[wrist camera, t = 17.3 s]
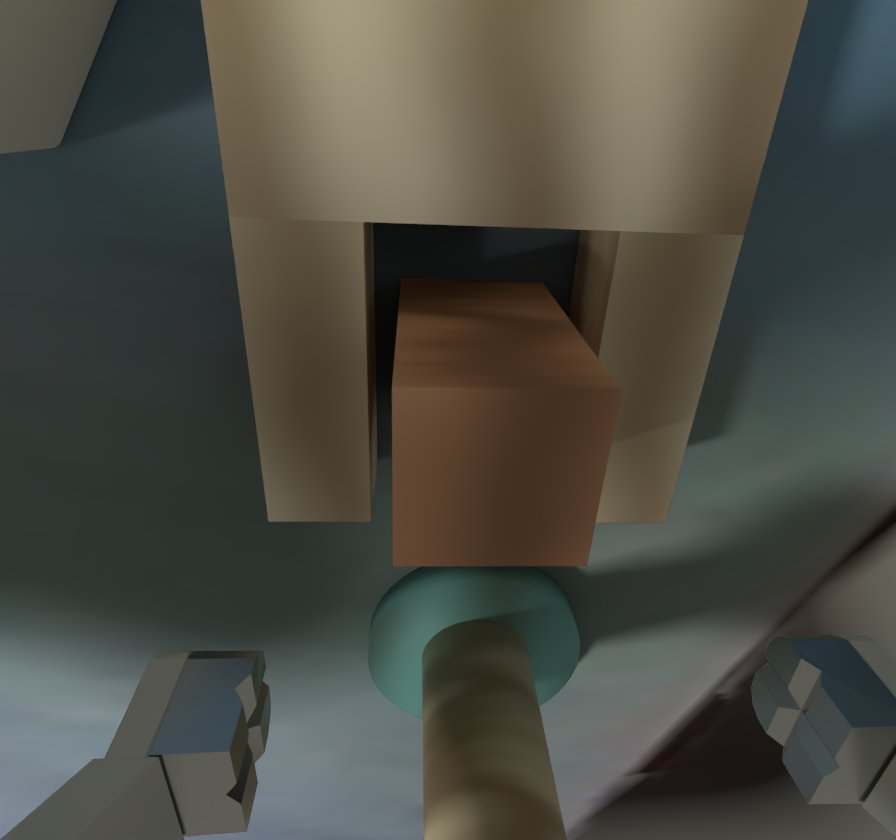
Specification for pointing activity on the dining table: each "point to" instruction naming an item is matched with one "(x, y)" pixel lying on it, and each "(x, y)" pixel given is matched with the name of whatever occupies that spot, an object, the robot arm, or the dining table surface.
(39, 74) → the medicine bottle
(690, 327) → the notched board
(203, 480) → the dining table surface
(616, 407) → the wooden block
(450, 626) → the bobbin
